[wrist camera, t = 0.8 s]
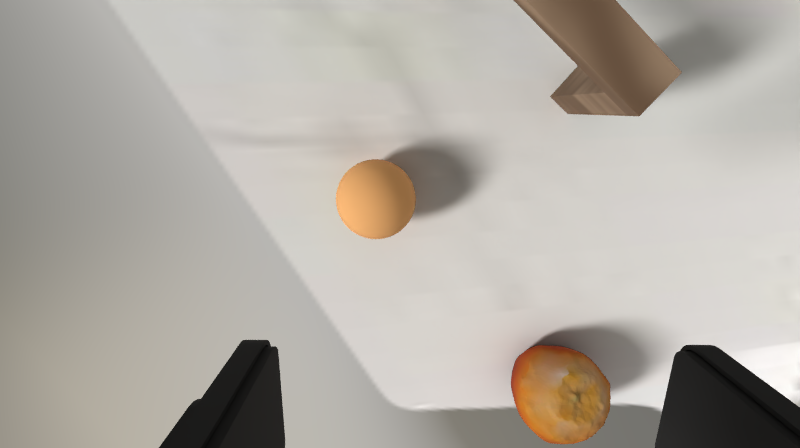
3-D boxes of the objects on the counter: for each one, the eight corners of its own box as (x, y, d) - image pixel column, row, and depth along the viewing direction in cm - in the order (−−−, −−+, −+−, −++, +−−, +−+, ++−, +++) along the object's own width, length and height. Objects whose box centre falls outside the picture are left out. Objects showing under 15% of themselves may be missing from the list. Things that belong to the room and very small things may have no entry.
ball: (327, 195, 33) (312, 214, 28) (372, 139, 32) (367, 146, 26) (382, 239, 34) (379, 266, 29) (428, 187, 33) (435, 203, 27)
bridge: (567, 113, 32) (639, 116, 22) (425, -26, 29) (438, -90, 20) (596, 83, 31) (681, 72, 22) (453, -63, 28) (480, -147, 19)
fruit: (493, 424, 38) (526, 448, 30) (498, 339, 40) (530, 341, 33) (575, 434, 39) (627, 461, 31) (576, 349, 41) (625, 354, 33)
